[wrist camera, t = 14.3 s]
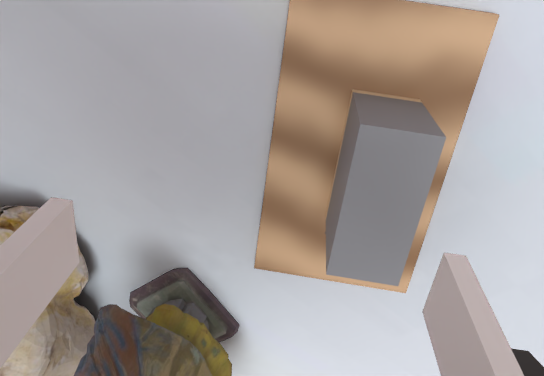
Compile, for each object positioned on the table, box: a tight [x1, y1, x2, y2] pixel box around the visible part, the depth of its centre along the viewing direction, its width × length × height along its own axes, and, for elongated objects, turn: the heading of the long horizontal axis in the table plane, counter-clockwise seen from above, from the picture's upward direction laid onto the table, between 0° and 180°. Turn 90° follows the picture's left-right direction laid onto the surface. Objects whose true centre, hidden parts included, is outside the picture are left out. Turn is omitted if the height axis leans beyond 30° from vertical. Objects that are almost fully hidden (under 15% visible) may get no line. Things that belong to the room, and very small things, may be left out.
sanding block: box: [326, 89, 446, 286], centre depth 32 cm, size 11×5×8 cm, turn 173°
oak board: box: [254, 0, 499, 293], centre depth 36 cm, size 24×14×1 cm, turn 173°
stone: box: [0, 205, 96, 376], centre depth 42 cm, size 15×14×25 cm
